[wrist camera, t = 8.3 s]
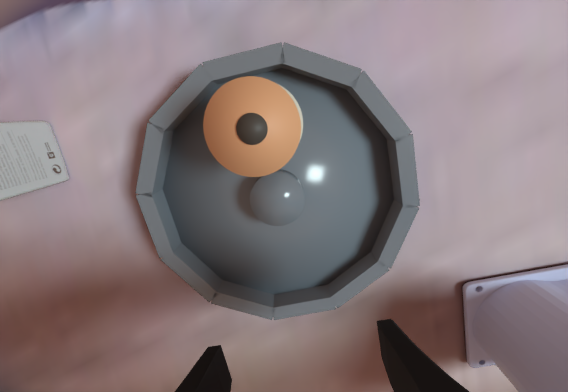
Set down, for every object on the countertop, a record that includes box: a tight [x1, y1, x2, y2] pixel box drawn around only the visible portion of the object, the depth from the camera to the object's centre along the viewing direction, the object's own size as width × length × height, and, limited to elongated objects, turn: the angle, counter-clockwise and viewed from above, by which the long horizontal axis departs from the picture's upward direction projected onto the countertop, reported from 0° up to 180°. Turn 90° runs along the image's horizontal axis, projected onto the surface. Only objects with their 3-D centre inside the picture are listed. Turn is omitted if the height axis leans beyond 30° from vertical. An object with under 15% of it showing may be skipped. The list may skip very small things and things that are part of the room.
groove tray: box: [136, 43, 420, 320], centre depth 18 cm, size 17×17×2 cm
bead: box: [203, 76, 301, 177], centre depth 15 cm, size 4×4×5 cm
